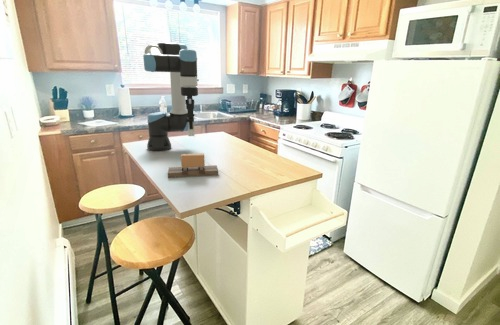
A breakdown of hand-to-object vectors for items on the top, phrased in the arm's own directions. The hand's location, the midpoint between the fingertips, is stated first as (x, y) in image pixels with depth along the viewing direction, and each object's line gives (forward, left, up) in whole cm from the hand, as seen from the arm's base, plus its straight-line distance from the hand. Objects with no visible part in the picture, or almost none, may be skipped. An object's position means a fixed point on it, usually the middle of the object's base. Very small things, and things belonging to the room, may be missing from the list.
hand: (191, 132), depth 128 cm
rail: (0, 0, -21) cm, 21 cm away
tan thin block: (0, 0, -21) cm, 21 cm away
